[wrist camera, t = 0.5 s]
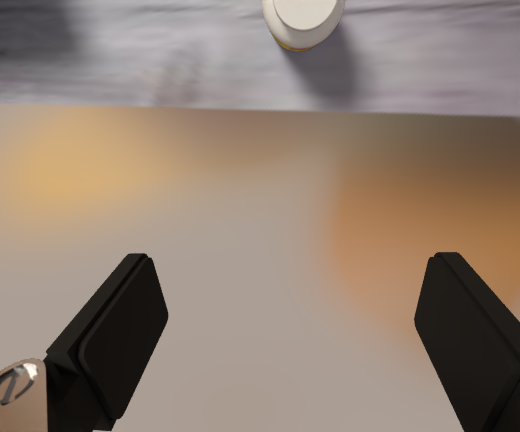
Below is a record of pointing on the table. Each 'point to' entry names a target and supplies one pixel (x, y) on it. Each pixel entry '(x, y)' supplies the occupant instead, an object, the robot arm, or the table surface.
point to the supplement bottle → (301, 21)
